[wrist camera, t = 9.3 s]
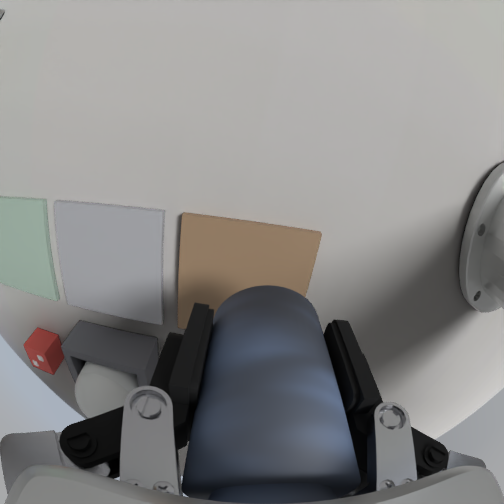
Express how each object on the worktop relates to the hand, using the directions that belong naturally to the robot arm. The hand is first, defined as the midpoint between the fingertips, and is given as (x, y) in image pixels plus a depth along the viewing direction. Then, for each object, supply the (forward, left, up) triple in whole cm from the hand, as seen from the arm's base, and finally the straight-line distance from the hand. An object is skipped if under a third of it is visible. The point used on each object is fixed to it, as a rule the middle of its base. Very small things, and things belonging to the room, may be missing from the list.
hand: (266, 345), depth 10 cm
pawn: (0, 0, -1) cm, 1 cm away
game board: (+9, +4, -5) cm, 11 cm away
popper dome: (+9, +8, -6) cm, 13 cm away
